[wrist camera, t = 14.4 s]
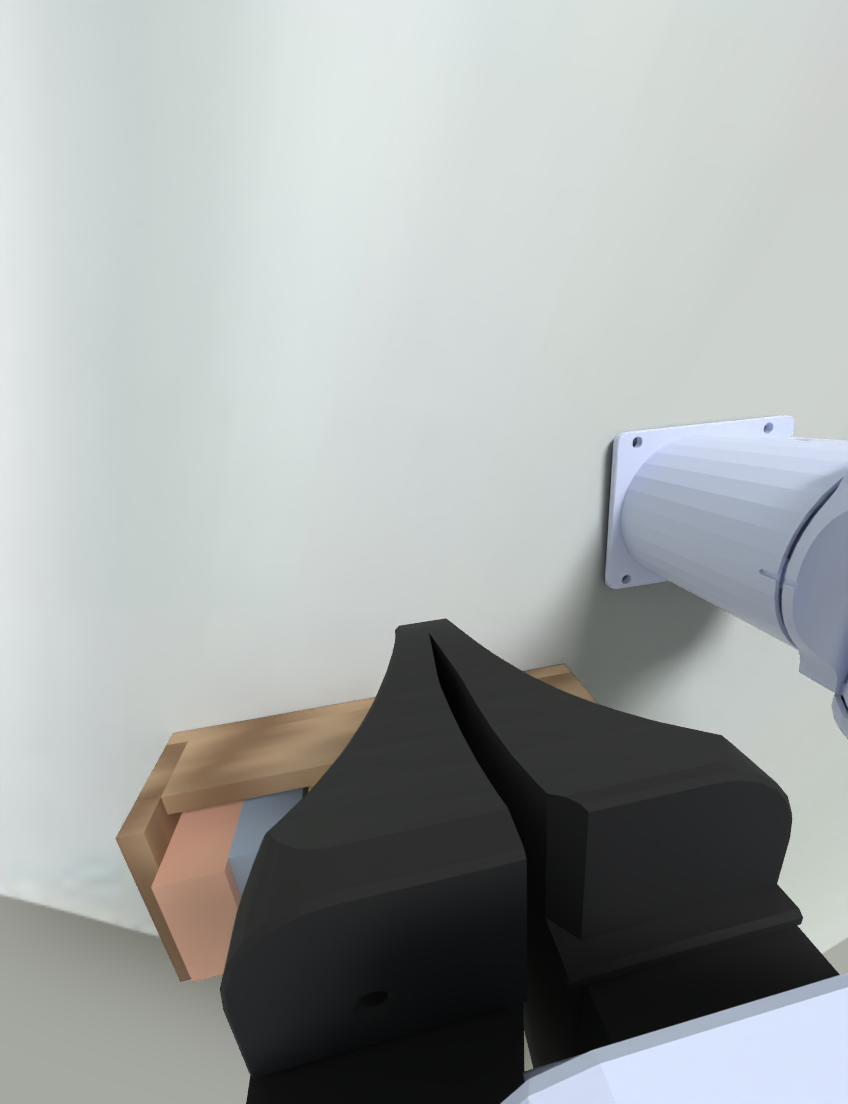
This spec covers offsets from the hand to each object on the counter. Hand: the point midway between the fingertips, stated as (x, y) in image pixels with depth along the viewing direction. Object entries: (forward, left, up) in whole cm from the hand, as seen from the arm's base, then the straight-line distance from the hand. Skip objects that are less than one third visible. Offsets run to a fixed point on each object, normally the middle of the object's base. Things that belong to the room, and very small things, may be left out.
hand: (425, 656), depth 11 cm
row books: (+8, +13, -9) cm, 18 cm away
